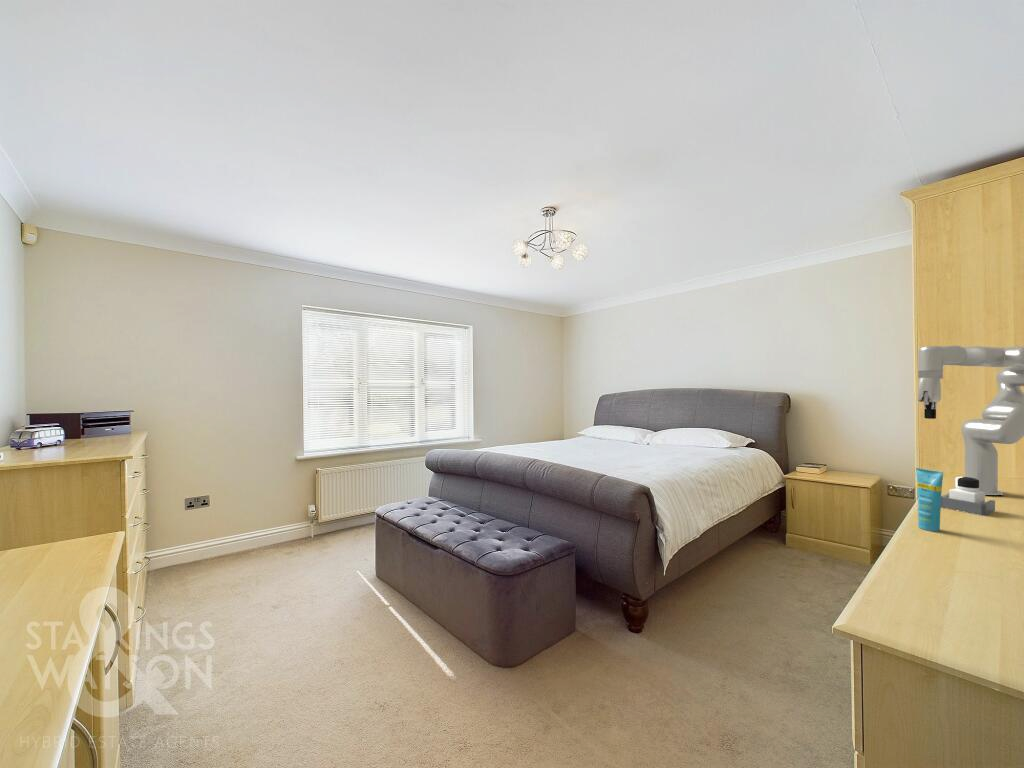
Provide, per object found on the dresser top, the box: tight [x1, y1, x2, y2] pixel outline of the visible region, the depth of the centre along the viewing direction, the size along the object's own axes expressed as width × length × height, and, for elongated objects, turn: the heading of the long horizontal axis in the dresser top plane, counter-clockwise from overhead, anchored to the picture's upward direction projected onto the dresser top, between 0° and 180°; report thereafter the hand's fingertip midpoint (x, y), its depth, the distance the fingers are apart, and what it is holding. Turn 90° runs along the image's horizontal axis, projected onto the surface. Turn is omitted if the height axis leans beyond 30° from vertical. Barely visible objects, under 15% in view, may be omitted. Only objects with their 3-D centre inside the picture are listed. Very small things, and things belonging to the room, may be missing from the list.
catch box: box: [941, 492, 996, 517], centre depth 157 cm, size 11×12×4 cm
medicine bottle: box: [949, 476, 986, 504], centre depth 157 cm, size 7×7×12 cm
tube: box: [915, 467, 944, 532], centre depth 136 cm, size 7×5×19 cm, turn 17°
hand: (930, 418), depth 179 cm, fingers closed
